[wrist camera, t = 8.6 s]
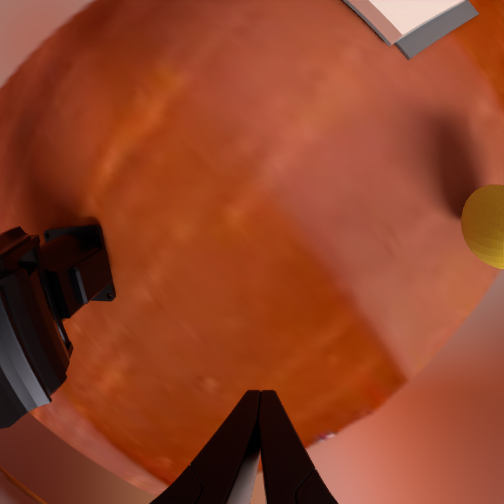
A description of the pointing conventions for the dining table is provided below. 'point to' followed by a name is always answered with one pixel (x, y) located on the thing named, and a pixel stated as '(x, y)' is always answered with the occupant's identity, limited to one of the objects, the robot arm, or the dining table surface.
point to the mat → (435, 29)
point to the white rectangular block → (399, 15)
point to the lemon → (485, 224)
